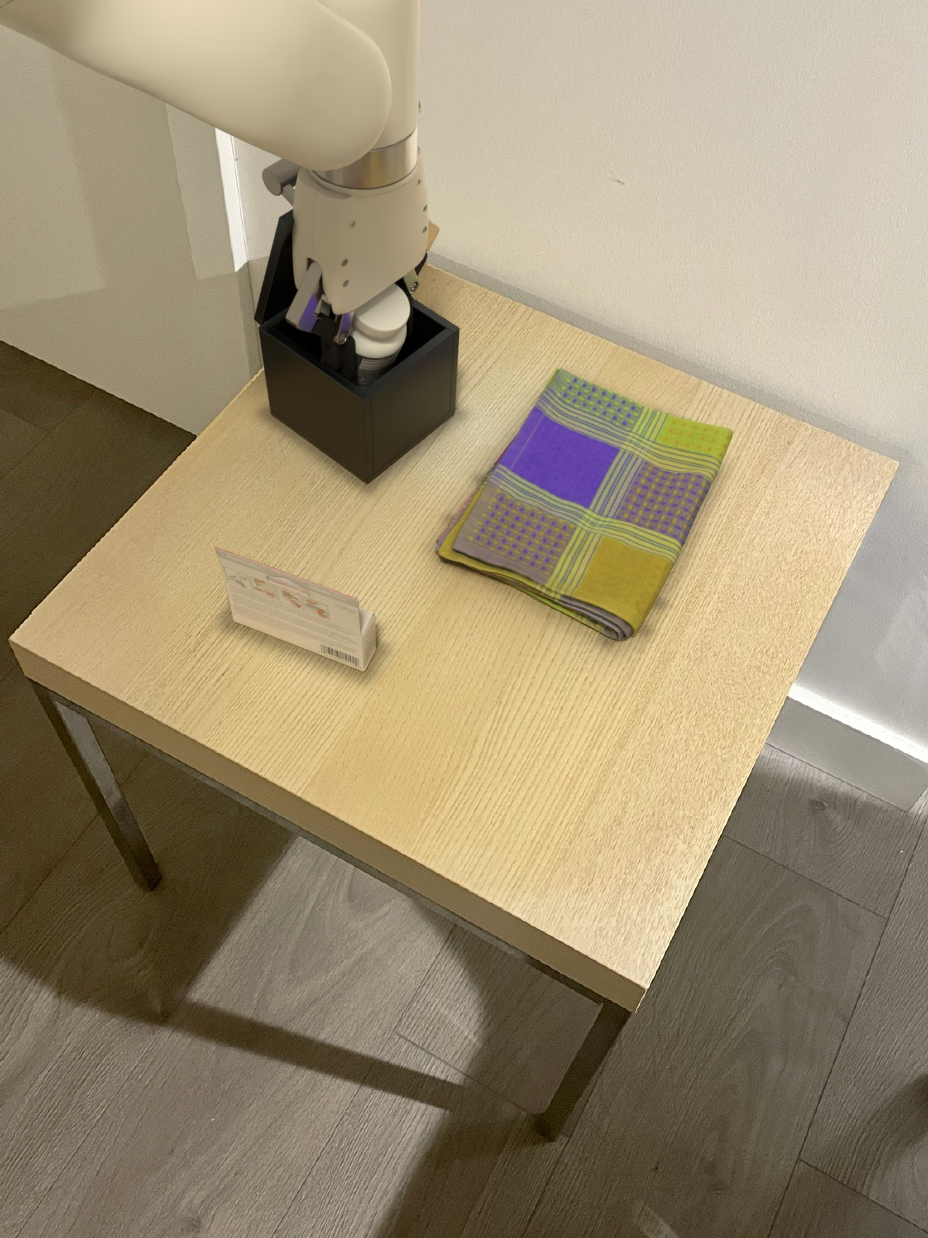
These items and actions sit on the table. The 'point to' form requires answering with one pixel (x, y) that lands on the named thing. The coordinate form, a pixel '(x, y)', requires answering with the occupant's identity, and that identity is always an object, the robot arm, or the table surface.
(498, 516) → the dish towel
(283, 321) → the black open box
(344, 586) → the table surface
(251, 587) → the ink cartridge box
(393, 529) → the table surface
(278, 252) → the black box lid
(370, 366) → the pill bottle
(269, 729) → the table surface
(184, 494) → the table surface
